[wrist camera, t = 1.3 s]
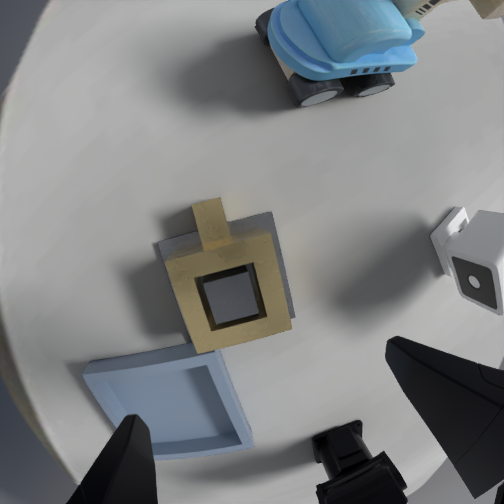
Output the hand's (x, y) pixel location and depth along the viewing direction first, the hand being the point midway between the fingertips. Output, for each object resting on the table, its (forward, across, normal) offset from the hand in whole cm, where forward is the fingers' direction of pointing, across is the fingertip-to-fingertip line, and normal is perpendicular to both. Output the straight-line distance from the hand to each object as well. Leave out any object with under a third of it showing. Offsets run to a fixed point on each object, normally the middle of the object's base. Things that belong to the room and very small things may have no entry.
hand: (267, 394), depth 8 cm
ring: (+14, 0, +1) cm, 14 cm away
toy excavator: (+16, -15, -14) cm, 26 cm away
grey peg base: (+14, 0, +3) cm, 14 cm away
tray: (+12, +9, +14) cm, 21 cm away
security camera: (+13, -23, +5) cm, 27 cm away
